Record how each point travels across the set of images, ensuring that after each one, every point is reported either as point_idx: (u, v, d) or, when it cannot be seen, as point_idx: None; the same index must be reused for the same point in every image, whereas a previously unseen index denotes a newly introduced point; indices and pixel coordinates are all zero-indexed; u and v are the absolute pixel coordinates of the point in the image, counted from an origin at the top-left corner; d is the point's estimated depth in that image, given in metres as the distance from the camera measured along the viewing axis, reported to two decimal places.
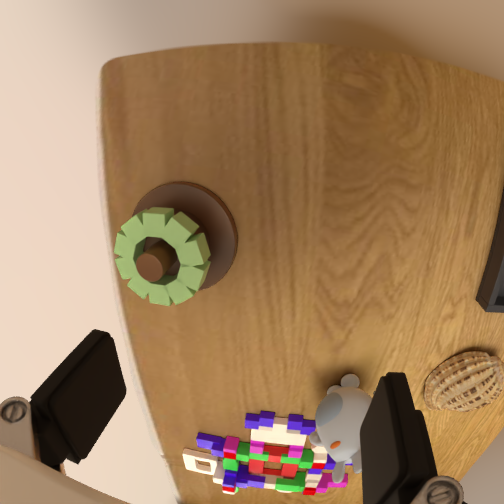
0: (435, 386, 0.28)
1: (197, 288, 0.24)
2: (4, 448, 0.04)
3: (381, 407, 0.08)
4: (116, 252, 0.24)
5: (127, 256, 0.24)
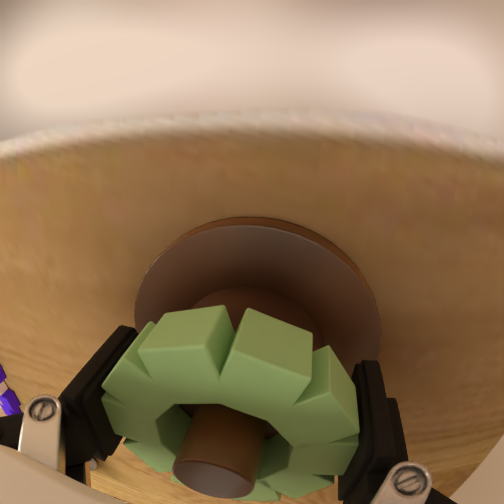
0: None
1: (177, 482, 0.09)
2: (4, 448, 0.04)
3: None
4: (234, 361, 0.06)
5: (225, 392, 0.07)
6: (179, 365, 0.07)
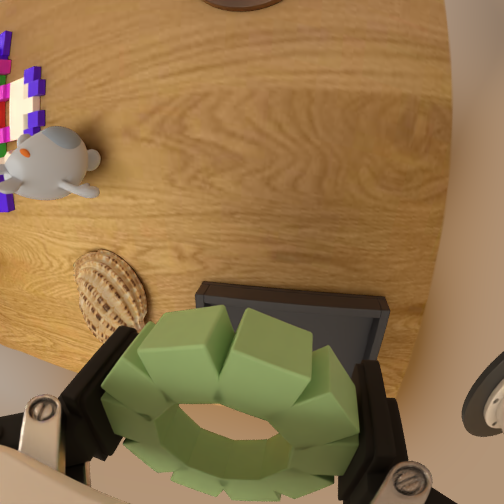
0: (100, 261, 0.29)
1: (176, 482, 0.09)
2: (4, 448, 0.04)
3: None
4: (234, 361, 0.06)
5: (224, 392, 0.07)
6: (178, 365, 0.07)
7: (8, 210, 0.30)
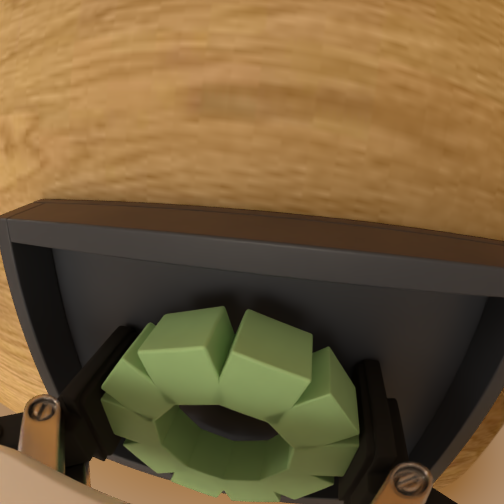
0: None
1: (176, 482, 0.09)
2: (4, 448, 0.04)
3: None
4: (234, 363, 0.06)
5: (224, 393, 0.07)
6: (179, 366, 0.07)
7: None
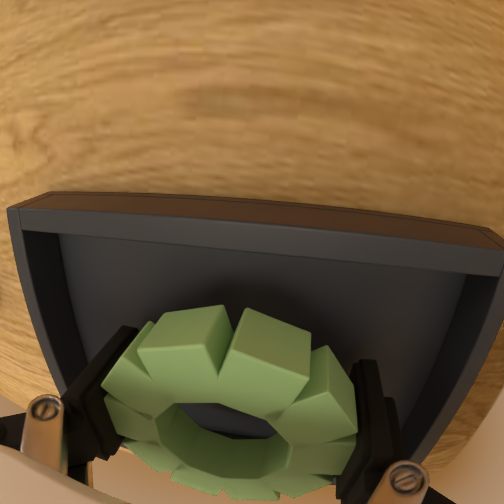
0: None
1: (176, 481, 0.09)
2: (4, 448, 0.04)
3: None
4: (233, 361, 0.07)
5: (223, 391, 0.07)
6: (178, 364, 0.07)
7: None
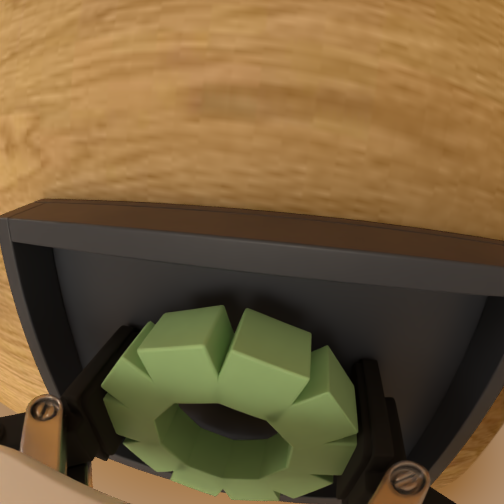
0: None
1: (176, 481, 0.09)
2: (4, 448, 0.04)
3: None
4: (233, 361, 0.07)
5: (223, 392, 0.07)
6: (178, 365, 0.07)
7: None
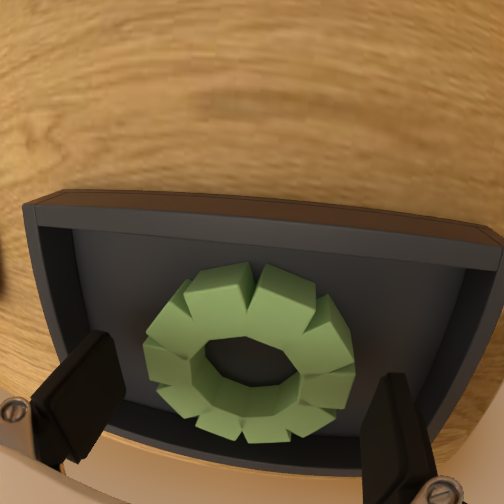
0: None
1: (200, 427, 0.12)
2: (4, 448, 0.04)
3: (381, 407, 0.08)
4: (259, 296, 0.09)
5: (250, 324, 0.10)
6: (216, 303, 0.10)
7: None
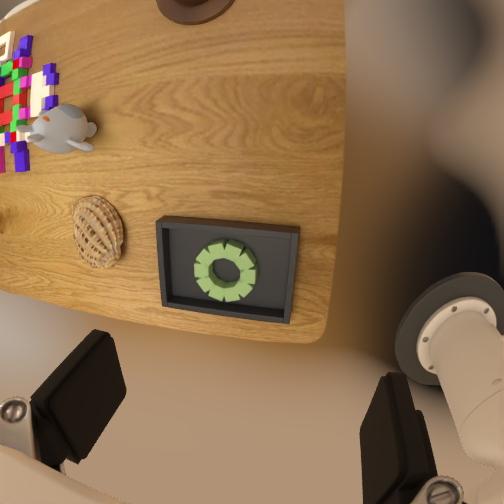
0: (91, 202, 0.38)
1: (210, 296, 0.40)
2: (4, 448, 0.04)
3: (381, 407, 0.08)
4: (227, 246, 0.37)
5: (225, 254, 0.37)
6: (216, 248, 0.37)
7: (25, 170, 0.39)
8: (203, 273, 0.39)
